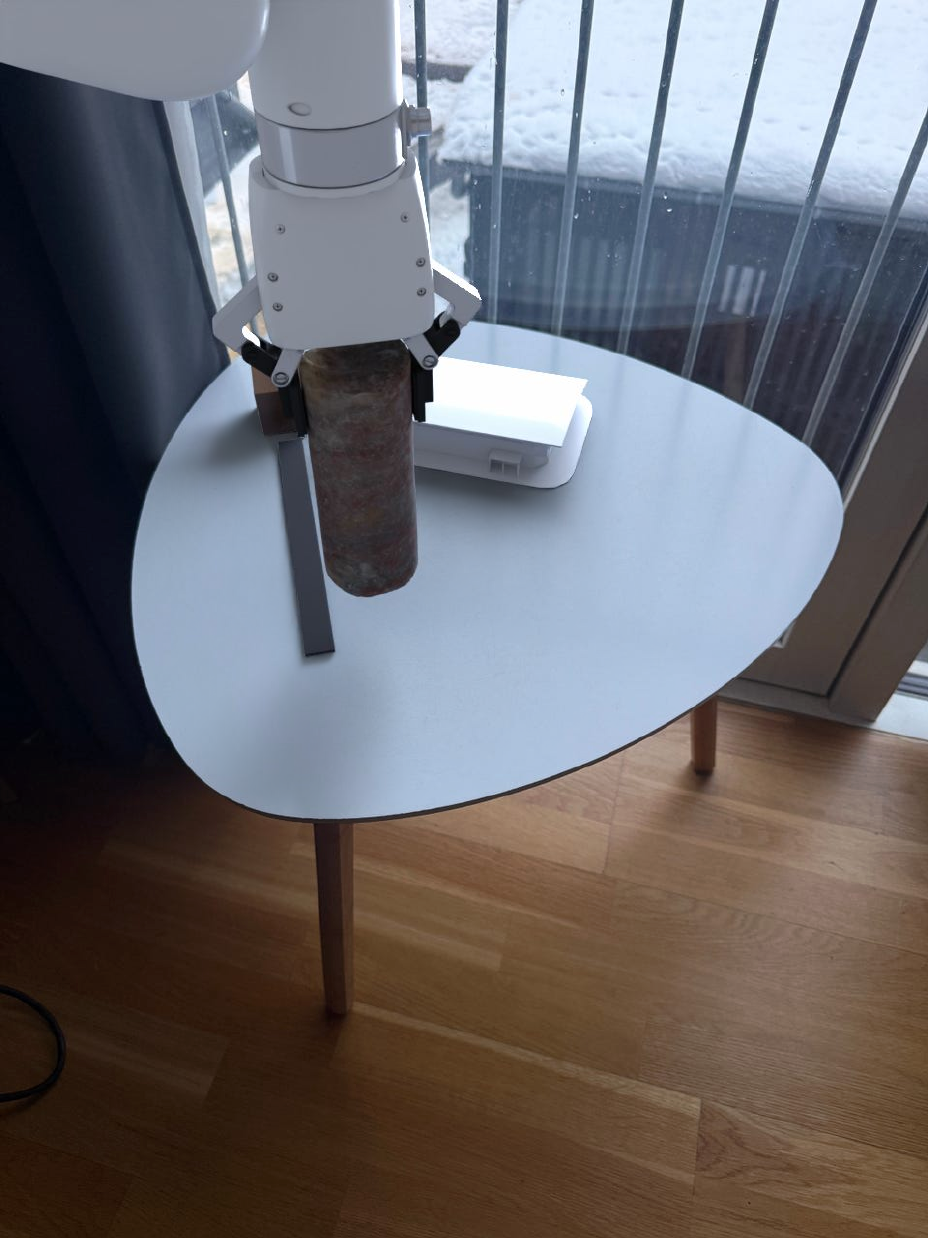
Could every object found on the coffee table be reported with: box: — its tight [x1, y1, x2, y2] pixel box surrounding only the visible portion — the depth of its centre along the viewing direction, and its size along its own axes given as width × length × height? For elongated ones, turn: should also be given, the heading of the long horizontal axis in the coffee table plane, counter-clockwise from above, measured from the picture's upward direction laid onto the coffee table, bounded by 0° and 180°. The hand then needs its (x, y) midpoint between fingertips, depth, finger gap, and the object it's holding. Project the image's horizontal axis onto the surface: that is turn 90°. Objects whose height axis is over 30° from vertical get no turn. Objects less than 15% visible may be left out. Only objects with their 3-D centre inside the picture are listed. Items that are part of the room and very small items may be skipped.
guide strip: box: [277, 437, 336, 657], centre depth 81 cm, size 2×27×1 cm, turn 12°
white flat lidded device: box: [412, 356, 593, 489], centre depth 90 cm, size 15×23×4 cm, turn 74°
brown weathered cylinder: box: [299, 339, 419, 598], centre depth 65 cm, size 8×7×20 cm
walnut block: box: [250, 364, 302, 437], centre depth 90 cm, size 5×5×5 cm
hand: (359, 415), depth 61 cm, fingers closed on brown weathered cylinder, 7 cm apart
